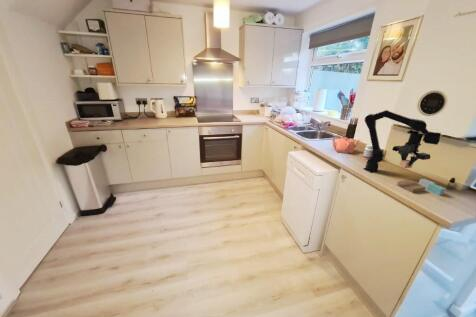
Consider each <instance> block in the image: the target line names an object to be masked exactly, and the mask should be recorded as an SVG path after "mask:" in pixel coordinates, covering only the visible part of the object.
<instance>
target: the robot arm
mask: <svg viewBox="0 0 476 317" xmlns="http://www.w3.org/2000/svg"><path fill="white" fill-rule="evenodd" d="M383 118H387V119H390V120H392V121H395V122H397V123H401V124H404V125H406V126H407V127H409V128H410V129H409V130H407V131H406V133H407V134H409V137H408V140H407V141H406V142H405V143H404V145H394V146H393V147H392V151H394V152H397V153H398V154H399V155H400V157H401V160H408V156H409V155H411V156H409V158H410V159H409V160H410V162H409V165H408V166H411V165H412V164H413V165H414V163H415V162H416V161H418V160H423V161H424V160H426V161H427V160H430V159H431V154H430V153H426V152H420V149H419V147H420V146H422V143H421V141H422V142H424V143H425V144H429V145H435V146H437V145H438V144H439V142H440V140H441V139H440V138H441V134H442V133H441V132H433V131H429V130H428V129H427V122H426V121H424V120H423V119H422V120H421V119H417V118H416V119H415V118H410V117H407V116H403V115H401V114H398V113H395V112H392V111H389V110H387V109H386V110H385V109H384V110H383V111H380V112H376V113H374V114H373V113H370V114H369V113H368V115H366V116H365V117H364V122H365V124H366V127H367V128H368V132H369V137H370V142H371V145H372V147H373V153H372V156H371V157H369V159H368V160H367V161H366V164H365V167H363V170H365V171H367V172H369V173H378V172H379V170H378V169H379V163H381V162H382V161H383V159H384V157H385V155H386V154H385V150H384V148H382V149H381V147H380V146H381V145H380V142H379V135H378V133H377V121H379V120H381V119H383ZM413 165H412V166H413Z"/></svg>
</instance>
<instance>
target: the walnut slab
mask: <svg viewBox="0 0 476 317" xmlns="http://www.w3.org/2000/svg"><path fill="white" fill-rule="evenodd" d="M396 186H397V187H399V188H401V189H404V190H406V191H408V192H410V193H411V192H412V194H414V193H422V192H425V190H426V187H424V186H422V185H420V184H419V183H418V182H415V181H413V180H410V179H408V180H407V179H406V180H400V181H398V182H397V184H396Z"/></svg>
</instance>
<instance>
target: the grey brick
mask: <svg viewBox="0 0 476 317" xmlns="http://www.w3.org/2000/svg"><path fill="white" fill-rule="evenodd" d="M418 184H420V185H422V186H424V187H426V188H425V190H427V188H428V186H429V184H436V185H437V182H434V181H432V180H429V179H427V178H420V179H419V181H418Z"/></svg>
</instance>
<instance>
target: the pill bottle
mask: <svg viewBox="0 0 476 317" xmlns="http://www.w3.org/2000/svg"><path fill="white" fill-rule="evenodd" d="M365 146H366V147H365V148H364V151H363V154H362V159H364V160H367V161H368V159H369V157H371V156H372V153H373V147H372V144H370V143H369V144H366V145H365Z"/></svg>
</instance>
